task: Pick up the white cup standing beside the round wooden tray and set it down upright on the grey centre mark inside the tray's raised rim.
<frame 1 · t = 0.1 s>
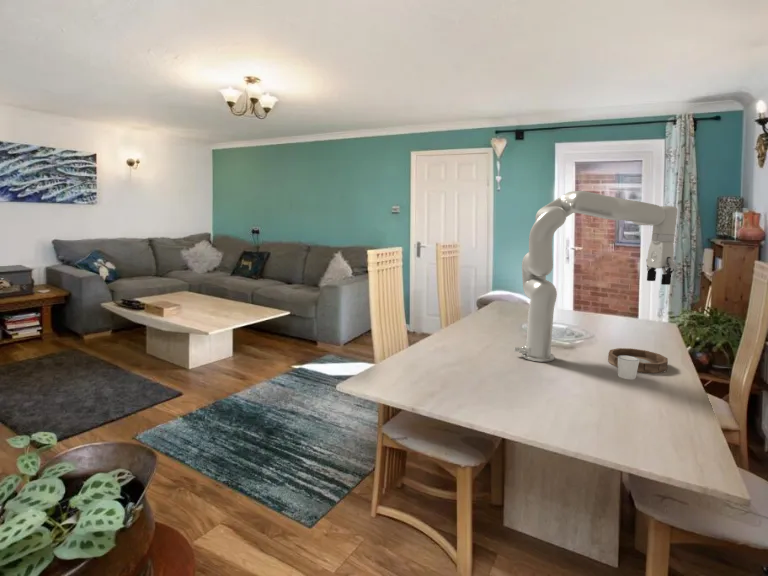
hand: (658, 282, 179), 31 cm above the table, tool pointing down, fingers open, 9 cm apart
white cup: (626, 377, 163), on the table
round wooden tray: (636, 364, 177), on the table
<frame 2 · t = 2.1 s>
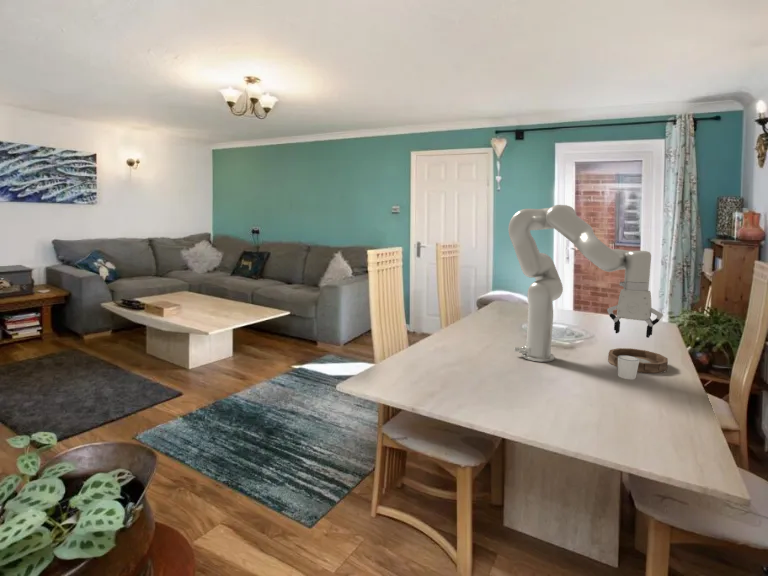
hand: (632, 334, 161), 16 cm above the table, tool pointing down, fingers open, 9 cm apart
nothing on the table moved.
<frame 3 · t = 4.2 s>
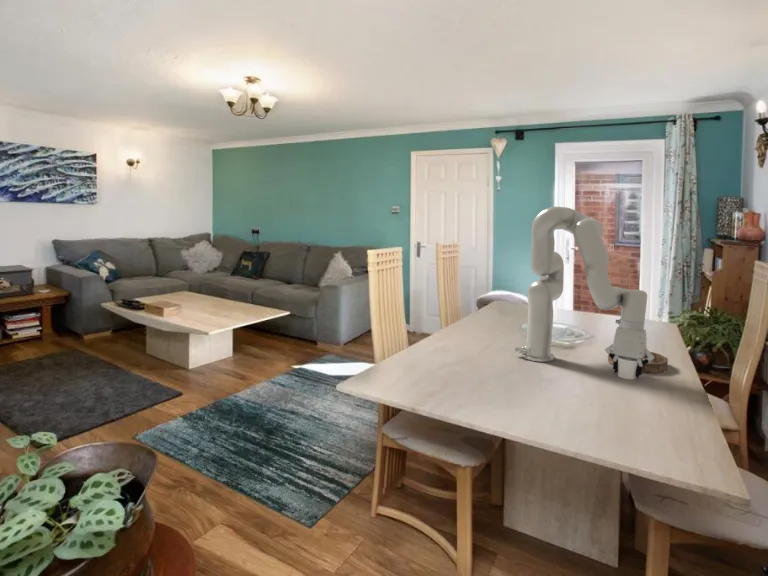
hand: (627, 373, 163), 1 cm above the table, tool pointing down, fingers closed on white cup, 6 cm apart
white cup: (626, 377, 163), on the table, touching gripper
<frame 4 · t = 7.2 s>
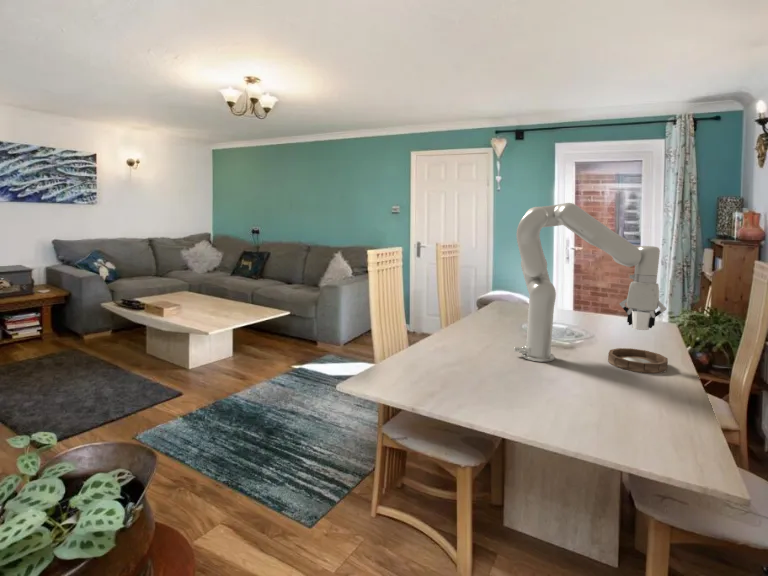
hand: (640, 325, 174), 16 cm above the table, tool pointing down, fingers closed on white cup, 6 cm apart
white cup: (640, 328, 174), point 14 cm above the table, touching gripper
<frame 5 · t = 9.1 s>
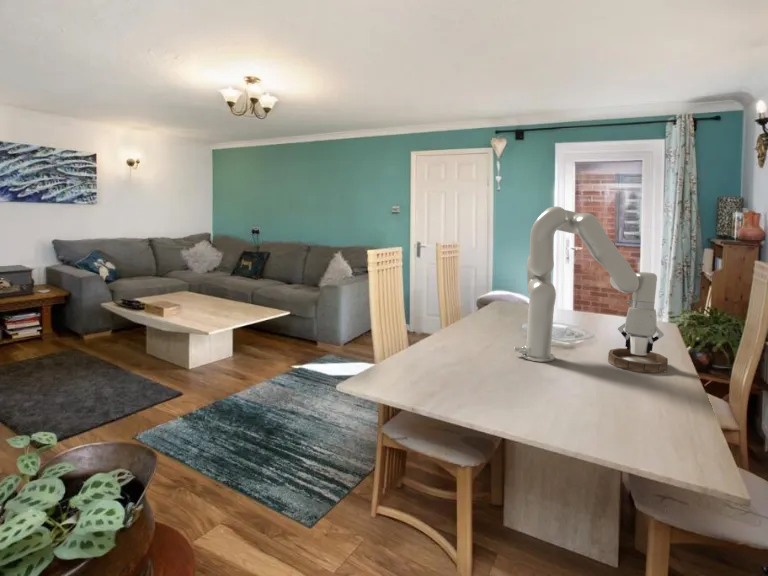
hand: (638, 350, 176), 6 cm above the table, tool pointing down, fingers closed on white cup, 6 cm apart
white cup: (638, 353, 176), point 4 cm above the table, touching gripper
when the fingers open (3 cm above the table, at t = 10.5 s): white cup drops 1 cm, resting on round wooden tray.
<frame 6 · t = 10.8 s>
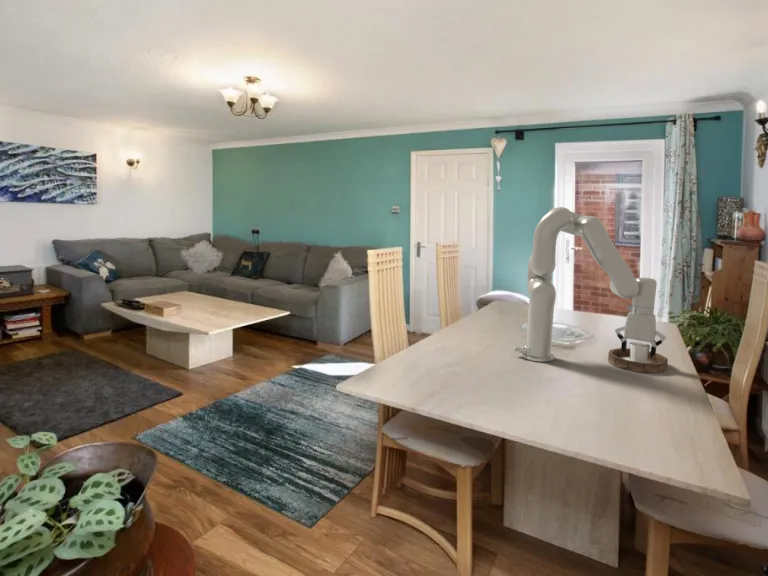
hand: (637, 353, 176), 4 cm above the table, tool pointing down, fingers open, 9 cm apart
white cup: (638, 362, 177), point 1 cm above the table, touching round wooden tray
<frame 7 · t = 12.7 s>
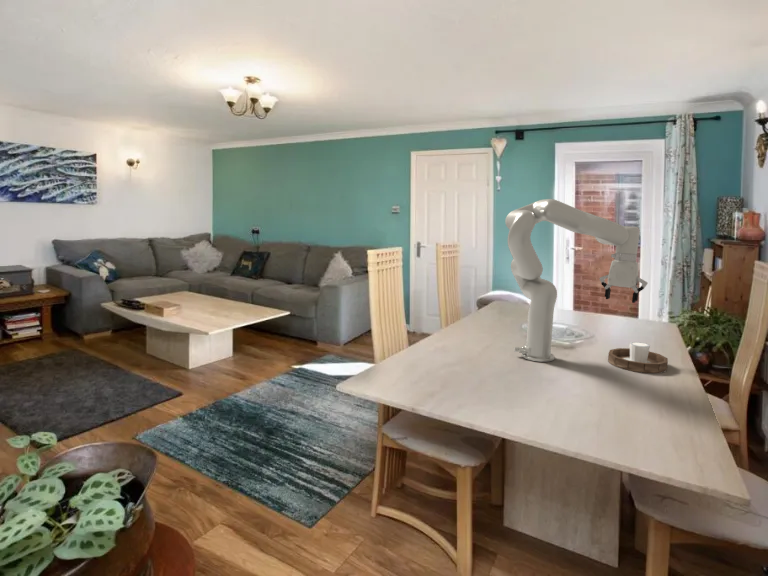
hand: (620, 300, 183), 23 cm above the table, tool pointing down, fingers open, 9 cm apart
nothing on the table moved.
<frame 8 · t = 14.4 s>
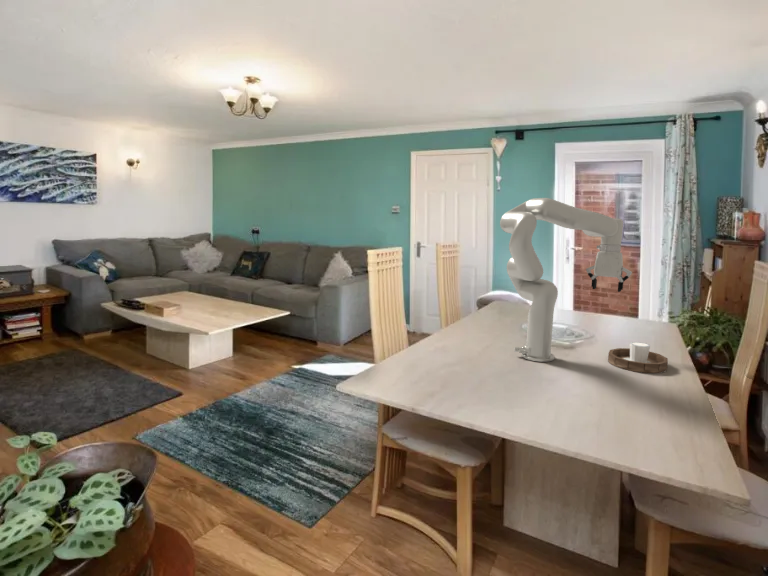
hand: (606, 290, 190), 26 cm above the table, tool pointing down, fingers open, 9 cm apart
nothing on the table moved.
at the end: white cup inside the target area on the round wooden tray (0.4 cm from its centre), point 1.0 cm above the round wooden tray's base; white cup tilted 0°; the gripper is holding nothing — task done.
